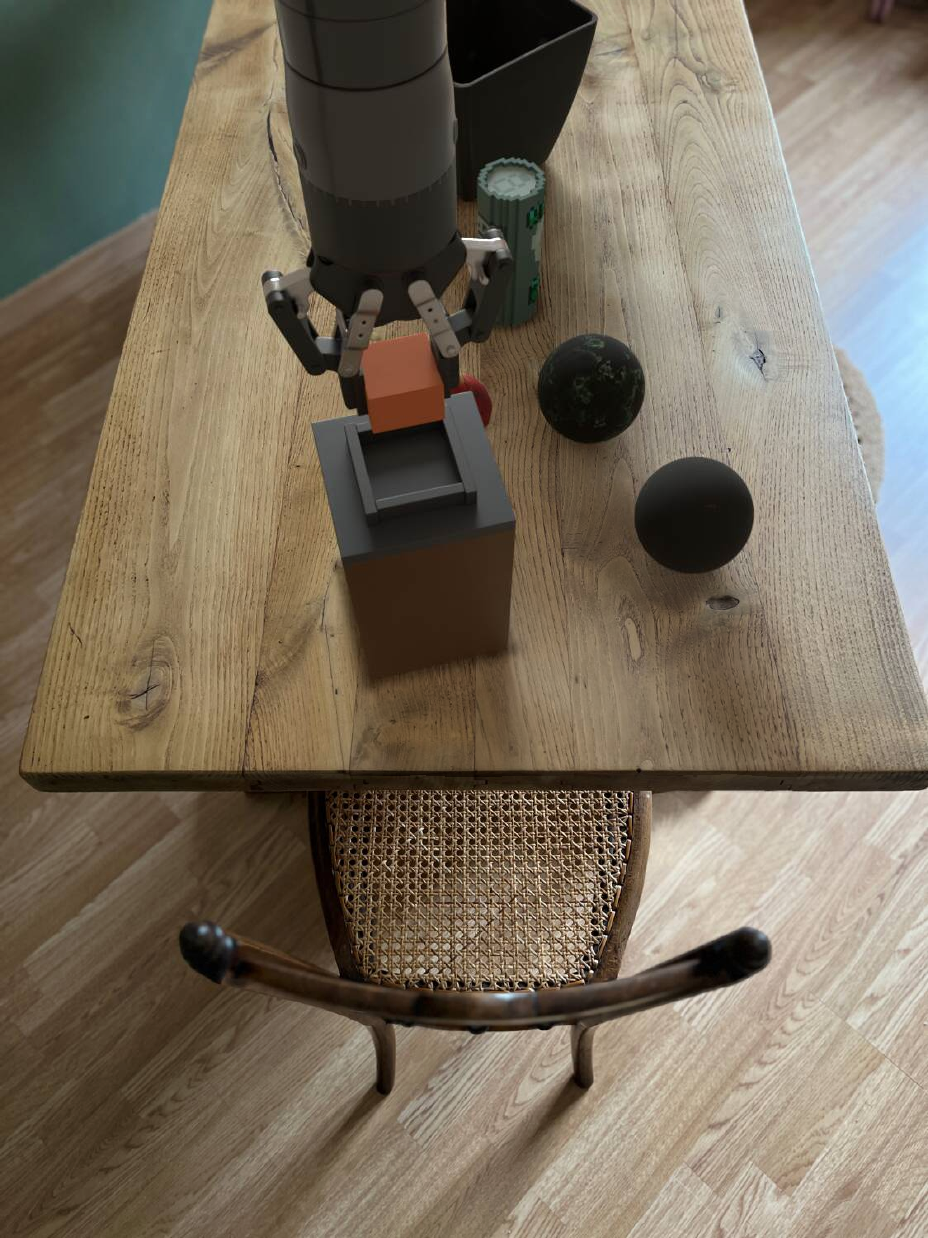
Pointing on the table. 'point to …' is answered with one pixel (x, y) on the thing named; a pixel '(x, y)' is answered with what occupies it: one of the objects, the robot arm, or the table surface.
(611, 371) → the decorative stone
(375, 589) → the brown holder box
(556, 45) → the flower pot
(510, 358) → the table surface
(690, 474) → the black ball
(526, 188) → the can
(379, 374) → the block
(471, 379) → the onion
